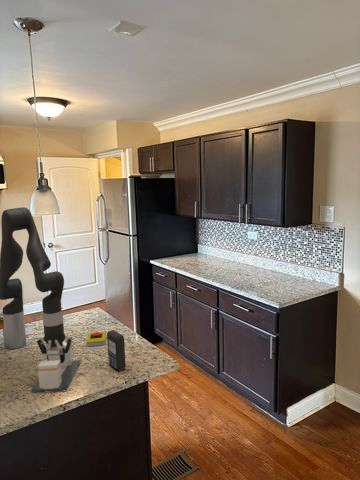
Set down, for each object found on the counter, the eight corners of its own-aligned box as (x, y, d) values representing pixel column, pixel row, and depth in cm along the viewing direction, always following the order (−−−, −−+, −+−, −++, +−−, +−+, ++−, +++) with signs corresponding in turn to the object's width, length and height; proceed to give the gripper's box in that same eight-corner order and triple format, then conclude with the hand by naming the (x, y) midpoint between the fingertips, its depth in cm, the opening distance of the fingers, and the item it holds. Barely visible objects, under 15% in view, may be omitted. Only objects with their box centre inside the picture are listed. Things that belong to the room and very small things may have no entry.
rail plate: (31, 392, 134) (31, 389, 133) (50, 364, 155) (50, 361, 155) (66, 391, 134) (66, 388, 134) (80, 362, 156) (80, 360, 156)
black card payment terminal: (107, 364, 154) (105, 331, 151) (115, 361, 156) (113, 328, 154) (118, 372, 147) (116, 338, 144) (126, 369, 149) (124, 335, 147)
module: (49, 368, 141) (47, 351, 140) (53, 361, 147) (52, 344, 146) (59, 367, 141) (58, 351, 140) (64, 360, 147) (62, 344, 146)
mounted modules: (39, 388, 134) (37, 366, 133) (56, 361, 155) (55, 342, 154) (58, 387, 134) (56, 365, 133) (73, 360, 155) (71, 341, 154)
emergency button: (106, 328, 184) (105, 340, 170) (106, 336, 185) (105, 348, 170) (87, 329, 183) (85, 341, 168) (88, 337, 183) (85, 350, 169)
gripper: (31, 326, 137) (35, 368, 140) (68, 324, 138) (71, 366, 140) (38, 319, 145) (42, 359, 147) (73, 317, 145) (76, 357, 148)
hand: (56, 362), depth 144 cm, fingers closed on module, 4 cm apart
